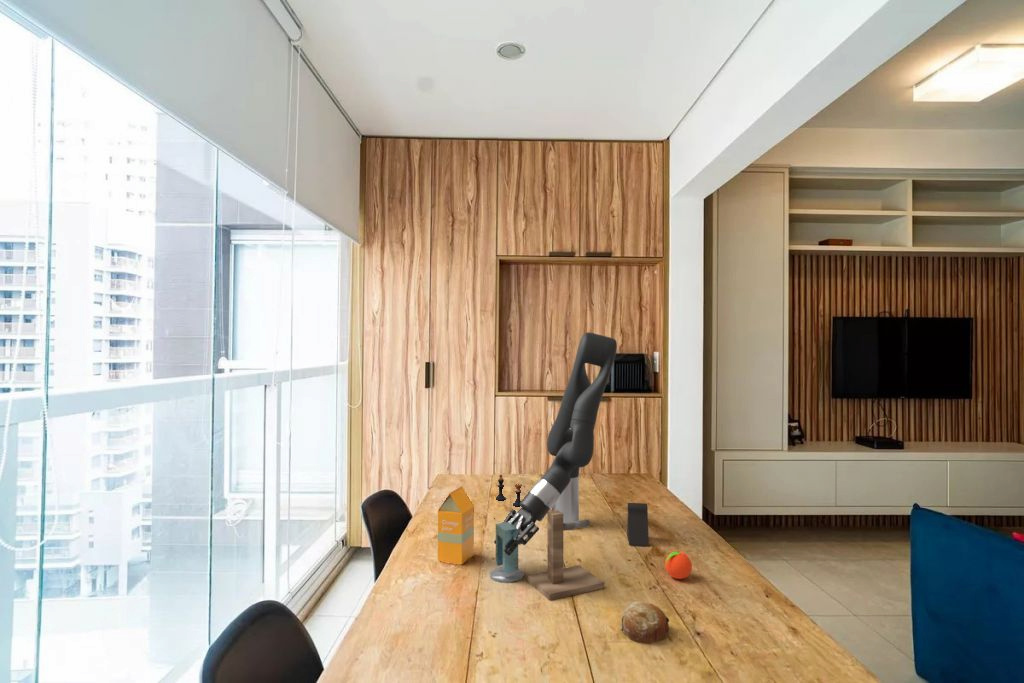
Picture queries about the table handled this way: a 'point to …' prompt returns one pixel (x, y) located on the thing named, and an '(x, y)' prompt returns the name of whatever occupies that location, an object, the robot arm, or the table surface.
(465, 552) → the orange juice
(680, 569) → the clementine
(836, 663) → the table surface
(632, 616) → the bread roll
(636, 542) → the phone stand
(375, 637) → the table surface
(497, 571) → the coaster
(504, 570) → the c link
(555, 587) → the stand
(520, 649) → the table surface
